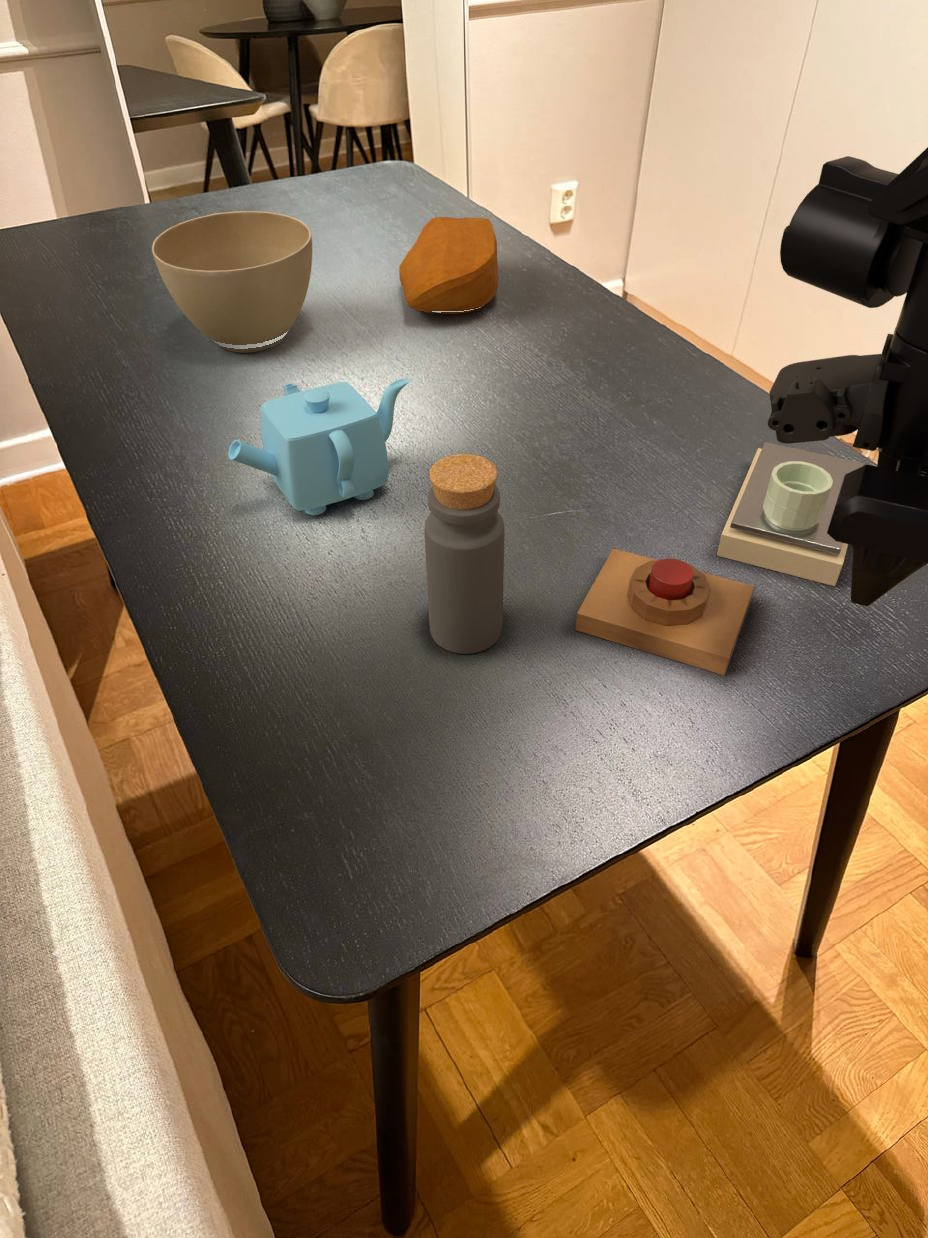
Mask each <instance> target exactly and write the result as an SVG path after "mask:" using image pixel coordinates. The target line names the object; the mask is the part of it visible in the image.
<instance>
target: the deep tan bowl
mask: <svg viewBox="0 0 928 1238" xmlns="http://www.w3.org/2000/svg"><path fill="white" fill-rule="evenodd" d="M312 235H313V234H312V231H311V229H310V227H309V226H308V225H307V224H306V223H305V222H303V220H300V219H298V218H296V217H293V216H291V215H290V216H289V215H287V214H283V213H278V212H271V211H259V210H257V211H256V210H255V211H254V210H239V211H227V212H225V211H224V212H219V213H212V214H206V215H202V216H199V217H195V218H192V219H188V220H185V221H182V222H179V223H177V224H175V225H173V226H171V227H169V228H167V229H166V230H164V231H163V232H162V233H160V234H159V235H158V236H157V237H156V238H155V239H154V240H153V242H152V245H151V253H152V256H153V259H154V262H155V265H156V267H157V270H158V272H159V275H160V277H161V279H162V281H163V283H164V285H165V287H166V289H167V291H168V293H169V294H170V296H171V298H172V299H173V301H174V302H175V304H176V306H177V307H178V308H179V309H180V311H181V312H182V313H183V315H184V316H185V317H186V318H187V320H188V321H189V322H190V323H191V324H192V325H193V326H194V327H195V328H196V329H197V330H198V331H200V333H202V334H203V335H204V336H205V337H206V336H207V337H206V338H208V339H209V338H210V339H212V340H214V341H216V342H220V343H225V344H232V345H247V344H257V343H263V342H265V341H269V340H272V339H275V338H277V337H279V336H281V335H283V334H284V333H286V332H287V331H288V330H289V329H290V328H292V327H293V326H294V324H295V322H296V321H297V319H298V317H299V315H300V312H301V311H302V308H303V306H304V303H305V299H306V297H307V294H308V289H309V285H310V280H311V273H312V267H313V265H312V264H313V237H312ZM290 330H291V329H290ZM290 330H289V331H290ZM287 335H288V333H287V334H286V335H285V336H284V337H283V338H282V339H280V340H278V341H276V342H274V343H272V344H269V345H265V346H262V347H256V348H248V349H234V348H227V347H223V346H222V347H221V348H222V349H223V350H225V351H228V352H233V353H241V354H243V353H245V354H248V353H257V352H261V351H265V350H268V349H271V348H273V347H276V346H277V345H279V344H280V343H281V342H283V340H284V339H285V338H286V336H287ZM210 339H209V340H210Z"/></svg>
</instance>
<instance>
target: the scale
mask: <svg viewBox="0 0 928 1238" xmlns="http://www.w3.org/2000/svg"><path fill="white" fill-rule="evenodd" d="M761 450H762V448H760V447H758V448H757V450H756V452H755V455H754V457H753V460H752V462H751V464H750V467H749V469H748V470H747V474H746V476H745V478H744V481H743V483H742V485H741V487H740V489H739V493H738V495H737V497H736V499H735V501H734V503H733V507H732V508H731V511H730V514H729V516H728V518H727V520H726V523H725V525H724V528H723V529H722V532H721V534H720V535H721V536H720V539H719V544H718V548H717V551H716V552H717V553H716V556H717V557H720V558H724V559H727V560H732V561H734V562H735V561H736V562H740V563H743V564H747V565H751V566H754V567H759V568H762V569H765V570H766V569H767V570H771V571H773V572H778V573H782V574H785V575H789V576H793V577H796V578H801V579H804V580H809V581H813V582H816V583H820V584H824V585H828V586H832V587H836V585H837V582H838V580H839V577H840V575H841V571H842V569H843V566H844V563H845V558H846V553H847V551H848V547H849V544H846V543H843V544H842V548H841V551H840V554H839V555H838V554H834V553H830V552H826V551H822V550H818V549H814V548H810V547H806V546H802V545H798V544H794V543H790V542H786V541H782V540H778V539H774V538H769V537H765V536H761V535H757V534H753V533H749V532H745V531H741V530H737V529H733V528H730V525H731V522H732V519H733V517H734V515H735V512H736V510H737V507H738V505H739V503H740V500H741V498H742V495H743V493H744V491H745V488H746V486H747V484H748V481H749V479H750V476H751V474H752V472H753V469H754V467H755V464H756V462H757V460H758V457H759V455H760V453H761Z"/></svg>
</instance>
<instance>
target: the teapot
mask: <svg viewBox="0 0 928 1238" xmlns="http://www.w3.org/2000/svg"><path fill="white" fill-rule="evenodd" d="M410 381H411V379H410V378H408V377H407V378H400V379H397V380H395V381H393V382H391V383H390V384H389V385H388V386H387V387H386V388H385V390H384V391H383V393H382V395H381V398H380V402H379V405H378V409H377V411H376V410H375V409H374V408H373V406H371V404H370V403H369V402H368V401H367V400H366V399H365V397H363V396H362V395H361V394H360V393H359V392H358V391H357V390H356V389H355V388H354V387H353V386H352V385H351V384H350V383H348V382H347V381H340V382H334V383H329V384H325V385H321V386H317V387H312V388H309V389H304V390H300V389H299V388H298V385H297V384H296V383H295V382H290V383H289V382H288V383H286V384H282V387H283V392H284V395H283V396H279V397H277V398H273V399H271V400H267V401H264V402H263V403H261V405H260V436H261V446H262V449H261V448H259V447H256V446H254V445H251V444H249V443H247V442H245V441H243V440H240V439H235V440H233V442H232V443H231V444H230V446H229V448H228V451H227V452H228V453H227V456H228V458H229V459H230V460H232V461H234V462H237V463H240V464H243V465H246V466H248V467H250V468H254V469H255V470H258V471H261V472H264V473H267V474H270V476H271V478H272V479H273V481H274V483H275V484H276V486H277V487H278V489H279V490H280V491H281V493H282V494H283V496H284V497H285V498H286V500H287V501H288V503H289V504H290V505H291V506H292V508H293V509H294V510H296V511H299V512H300V511H304V512H305V513H306V514H307V515H309V516H318V515H321V514H323V513H324V512H325V511H326V510H327V506H328V505H331V504H335V503H339V502H341V501H345V500H348V499H351V498H354V499H356V500H360V501H365V500H369V499H371V498H372V497H373V496H374V495H375V493H374V490H376V489H378V488H380V487H383V486H385V485H386V484H388V479H389V474H390V463H389V457H388V450H387V444H386V442H387V441H388V440H389V438H390V435H391V433H392V430H393V425H394V414H395V406H396V401H397V397H398V396H399V394H400V392H401V391H402V389H404V388H405V387H406V386H407V385H408V384H409V383H410Z"/></svg>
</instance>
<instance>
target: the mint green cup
mask: <svg viewBox="0 0 928 1238" xmlns="http://www.w3.org/2000/svg"><path fill="white" fill-rule="evenodd" d="M832 483H833V480H832V478H831V475H830V474H829V473H828V472H827V471H825V470H824V469H823V468H821V467H819V466H816V465H814V464H811V463H807V462H801V461H789V462H784V463H781V464H779V465H777V466H776V467H774V469H773V471H772V474H771V478H770V481H769V485H768V489H767V493H766V497H765V500H764V504H763V509H764V513H765V515H766V516H767V518H768V520H769V521H770V522H771V523H773V524H774V525H776V526H778V527H780V528H782V529H786V530H791V531H803V530H807V529H810V528H811V527H813V526H815V525H816V524H817V523H819V522H820V521H821V518H822V515H823V512H824V508H825V505H826V502H827V499H828V496H829V493H830V490H831V487H832Z"/></svg>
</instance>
